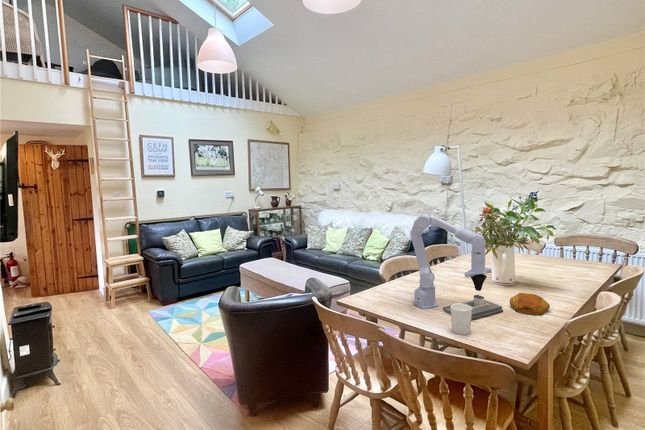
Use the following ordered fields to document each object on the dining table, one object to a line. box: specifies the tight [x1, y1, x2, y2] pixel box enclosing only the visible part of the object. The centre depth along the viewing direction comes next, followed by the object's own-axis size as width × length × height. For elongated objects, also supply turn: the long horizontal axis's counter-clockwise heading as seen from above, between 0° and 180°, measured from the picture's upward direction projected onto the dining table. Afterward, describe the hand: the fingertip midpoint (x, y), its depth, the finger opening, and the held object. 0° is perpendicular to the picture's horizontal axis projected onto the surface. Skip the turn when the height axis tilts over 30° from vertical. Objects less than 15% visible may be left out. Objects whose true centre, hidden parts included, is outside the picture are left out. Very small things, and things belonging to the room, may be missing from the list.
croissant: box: [509, 292, 551, 316], centre depth 158 cm, size 14×16×8 cm
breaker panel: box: [443, 299, 503, 318], centre depth 160 cm, size 24×11×3 cm, turn 114°
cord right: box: [471, 309, 504, 322], centre depth 153 cm, size 20×1×1 cm, turn 114°
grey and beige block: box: [473, 294, 485, 306], centre depth 161 cm, size 2×4×4 cm
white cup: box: [450, 302, 473, 336], centre depth 139 cm, size 8×8×10 cm
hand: (478, 290), depth 160 cm, fingers closed
